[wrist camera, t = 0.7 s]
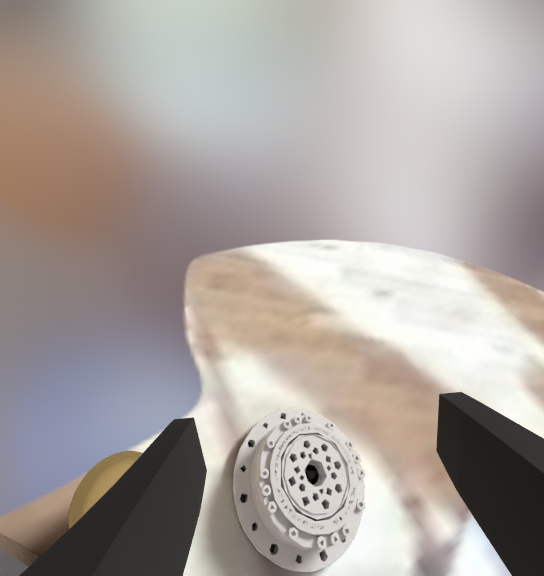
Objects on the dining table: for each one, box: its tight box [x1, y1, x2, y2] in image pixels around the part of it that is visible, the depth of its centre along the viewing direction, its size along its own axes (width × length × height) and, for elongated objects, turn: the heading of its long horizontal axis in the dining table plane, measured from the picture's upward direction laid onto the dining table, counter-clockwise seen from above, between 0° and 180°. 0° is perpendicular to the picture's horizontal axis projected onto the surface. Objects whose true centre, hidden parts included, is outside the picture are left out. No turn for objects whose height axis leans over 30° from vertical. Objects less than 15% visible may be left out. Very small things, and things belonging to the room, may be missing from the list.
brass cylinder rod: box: [69, 451, 143, 529], centre depth 16 cm, size 4×4×7 cm
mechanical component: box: [232, 408, 365, 572], centre depth 20 cm, size 10×4×10 cm
